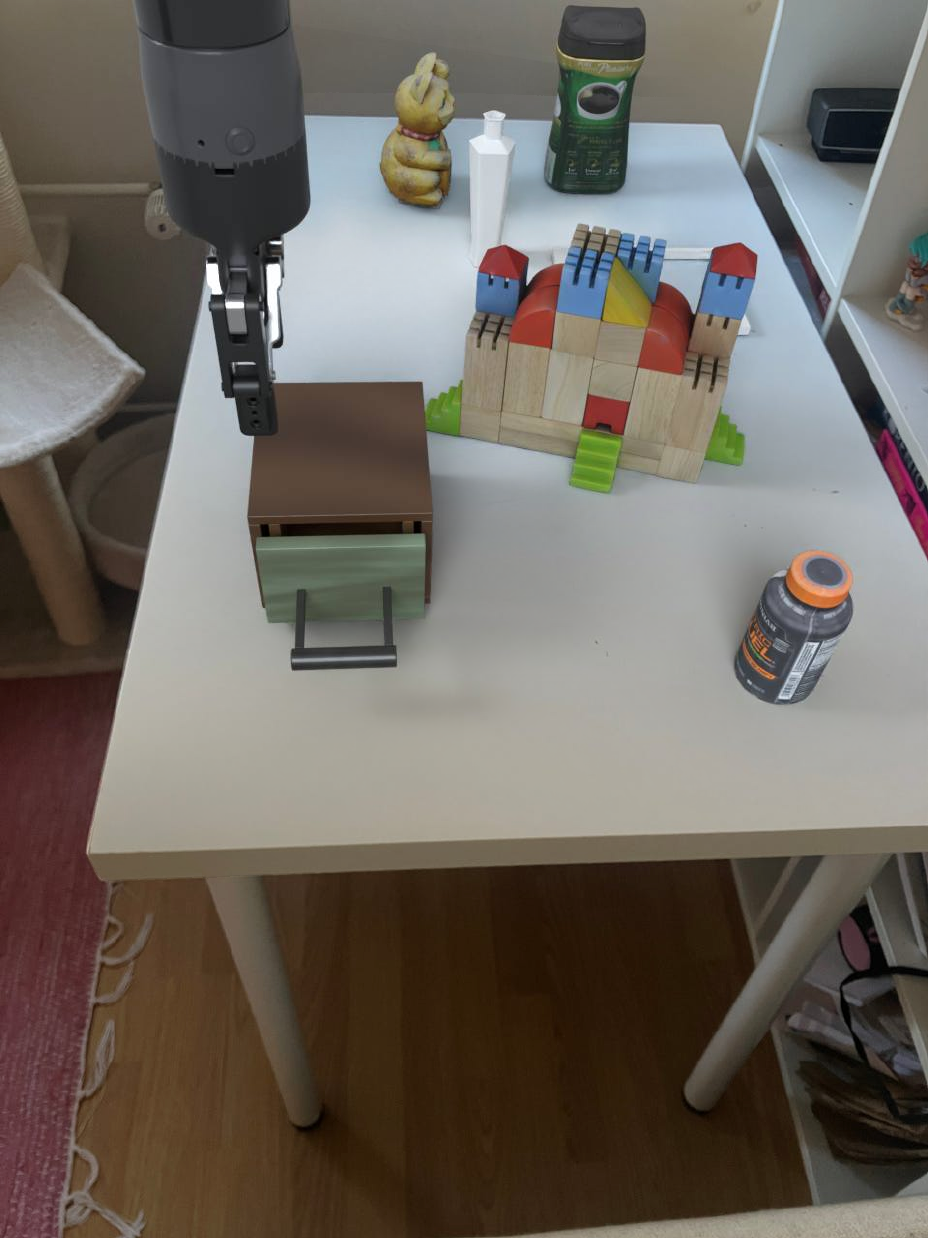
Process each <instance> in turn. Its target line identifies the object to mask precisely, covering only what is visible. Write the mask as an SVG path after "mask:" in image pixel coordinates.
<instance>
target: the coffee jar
mask: <svg viewBox="0 0 928 1238" xmlns="http://www.w3.org/2000/svg"><path fill="white" fill-rule="evenodd" d="M646 38H647V25H646V18H645V15H644V12H643V11H642V10H641V8H640V7H637V6H636V7H619V6H618V7H617V6H591V5H590V6H587V5H573V4H568V5H567V6H566V7H565V9H564V12H563V15H562V19H561V25H560V28H559V31H558V36H557V39H556V46H555V54H556V60H557V64H558V70H559V75H558V84H557V85H558V86H557V94H556V101H555V106H554V111H553V117H552V121H551V127H550V130H549V131H550V132H549V137H548V142H547V146H546V152H545V157H544V168H543V170H544V171H543V172H544V173H543V174H544V177H545V178H544V179H545V181H546V182H547V184H548V185H549V186H550V187H552V188H553V189H555V190H556V191H558V192H562V193H569V194H590V195H591V194H592V195H597V194H598V195H600V194H613V193H616V192H617V191H618V190H620V189H621V188H622V187H624V185H625V183H626V176H627V170H628V169H627V168H628V155H629V136H630V135H629V134H630V121H631V109H632V99H633V92H634V85H635V82H636V78H637V75H638V73H639V72H640V70H641V68H642V66H643V64H644V61H645V57H646V46H647V45H646V44H647V42H646V41H647V40H646Z"/></svg>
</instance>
